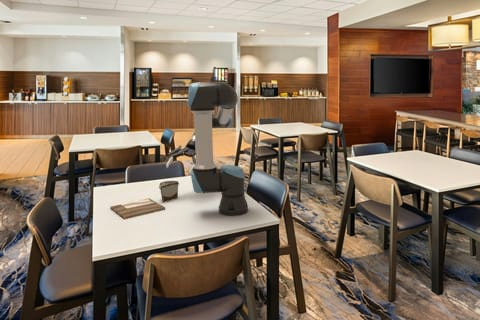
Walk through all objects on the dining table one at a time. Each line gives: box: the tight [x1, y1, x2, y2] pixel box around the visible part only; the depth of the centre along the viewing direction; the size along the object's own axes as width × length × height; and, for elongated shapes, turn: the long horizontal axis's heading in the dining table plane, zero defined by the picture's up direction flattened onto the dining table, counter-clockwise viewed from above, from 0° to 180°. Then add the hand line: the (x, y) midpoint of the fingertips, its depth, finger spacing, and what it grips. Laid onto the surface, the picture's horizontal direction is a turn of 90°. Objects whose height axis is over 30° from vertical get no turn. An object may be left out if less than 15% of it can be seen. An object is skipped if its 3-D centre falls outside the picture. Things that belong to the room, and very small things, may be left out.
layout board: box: [109, 198, 166, 220], centre depth 190 cm, size 20×22×1 cm
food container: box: [158, 180, 180, 203], centre depth 205 cm, size 12×6×10 cm, turn 134°
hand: (177, 170), depth 197 cm, fingers open, 13 cm apart
